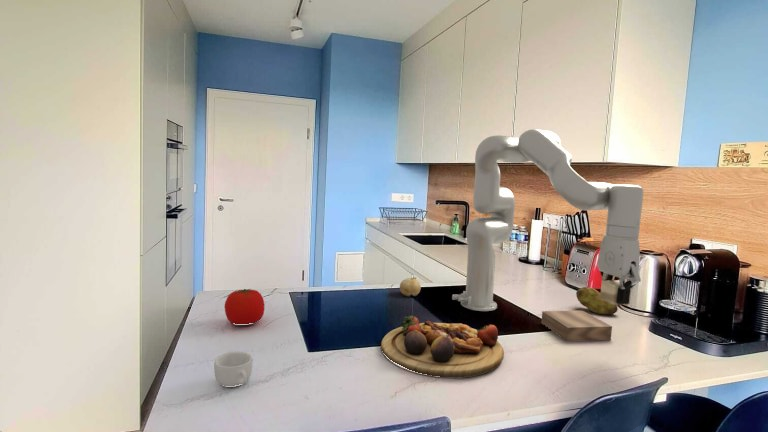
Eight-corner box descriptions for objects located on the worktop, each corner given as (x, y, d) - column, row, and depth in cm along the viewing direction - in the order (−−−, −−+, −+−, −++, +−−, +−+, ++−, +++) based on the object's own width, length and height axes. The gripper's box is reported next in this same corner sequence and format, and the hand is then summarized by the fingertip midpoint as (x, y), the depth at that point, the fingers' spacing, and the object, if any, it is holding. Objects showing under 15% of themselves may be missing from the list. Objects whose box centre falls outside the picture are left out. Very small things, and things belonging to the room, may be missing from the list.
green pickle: (606, 319, 141) (608, 296, 140) (571, 307, 151) (573, 286, 150) (619, 315, 145) (622, 292, 144) (584, 304, 156) (586, 283, 155)
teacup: (208, 381, 91) (208, 357, 90) (243, 371, 96) (243, 348, 96) (227, 401, 84) (226, 375, 83) (263, 388, 89) (263, 364, 88)
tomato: (261, 315, 133) (261, 282, 131) (268, 328, 122) (268, 293, 120) (222, 319, 128) (222, 285, 127) (226, 334, 117) (226, 297, 116)
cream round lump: (416, 299, 155) (417, 280, 154) (396, 296, 158) (397, 278, 157) (422, 293, 162) (423, 275, 162) (403, 291, 165) (403, 273, 164)
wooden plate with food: (500, 335, 124) (501, 308, 123) (508, 388, 93) (509, 352, 92) (393, 325, 130) (394, 299, 130) (367, 371, 99) (368, 337, 99)
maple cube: (612, 304, 108) (614, 285, 108) (600, 298, 113) (601, 280, 113) (630, 304, 109) (632, 285, 109) (616, 298, 114) (618, 280, 114)
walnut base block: (566, 341, 120) (567, 327, 120) (541, 323, 134) (542, 311, 134) (610, 339, 123) (612, 326, 122) (581, 322, 136) (582, 310, 136)
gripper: (588, 227, 117) (582, 290, 119) (633, 237, 100) (625, 311, 102) (612, 227, 118) (606, 290, 120) (661, 238, 101) (652, 310, 104)
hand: (614, 299), depth 111 cm, fingers closed on maple cube, 5 cm apart
